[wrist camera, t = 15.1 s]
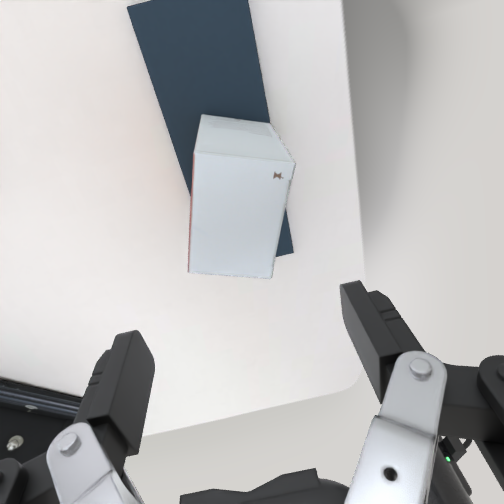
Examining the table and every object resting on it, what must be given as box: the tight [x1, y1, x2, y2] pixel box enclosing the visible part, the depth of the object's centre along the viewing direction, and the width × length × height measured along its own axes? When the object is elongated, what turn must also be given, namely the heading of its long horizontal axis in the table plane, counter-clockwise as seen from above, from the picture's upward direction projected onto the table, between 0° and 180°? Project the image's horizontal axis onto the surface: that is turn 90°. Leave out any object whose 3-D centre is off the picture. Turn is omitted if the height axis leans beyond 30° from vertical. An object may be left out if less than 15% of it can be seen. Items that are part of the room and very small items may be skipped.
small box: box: [188, 114, 296, 279], centre depth 24 cm, size 8×6×10 cm
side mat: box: [127, 0, 294, 257], centre depth 28 cm, size 22×8×1 cm, turn 12°
